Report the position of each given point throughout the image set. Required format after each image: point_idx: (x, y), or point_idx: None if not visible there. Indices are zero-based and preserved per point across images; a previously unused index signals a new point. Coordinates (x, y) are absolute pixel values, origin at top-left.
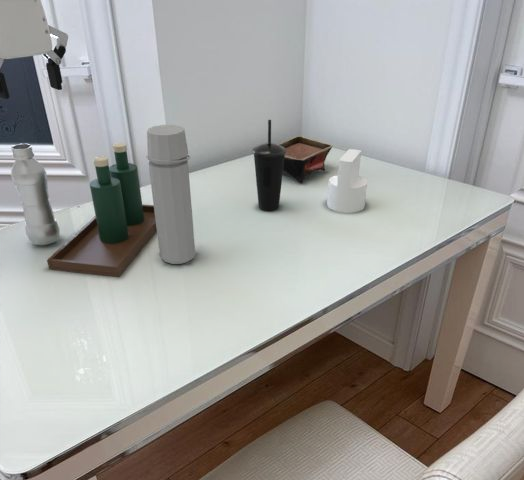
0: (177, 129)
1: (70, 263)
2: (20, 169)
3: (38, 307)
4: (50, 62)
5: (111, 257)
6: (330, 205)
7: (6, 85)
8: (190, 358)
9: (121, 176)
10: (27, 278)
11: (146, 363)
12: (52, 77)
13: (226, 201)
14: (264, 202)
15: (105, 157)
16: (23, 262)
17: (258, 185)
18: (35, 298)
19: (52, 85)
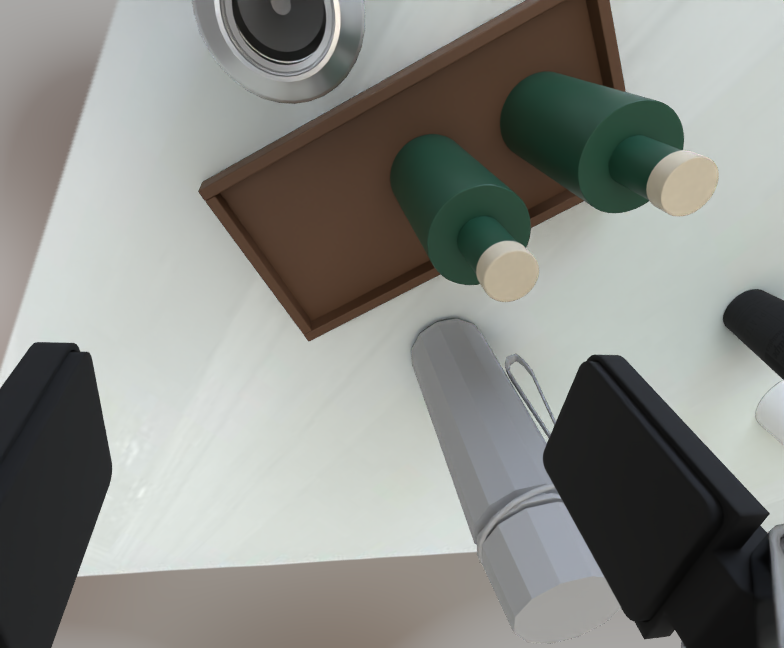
0: (589, 621)
1: (241, 249)
2: (225, 52)
3: (104, 315)
4: (697, 608)
5: (347, 261)
6: (773, 395)
7: (77, 571)
8: (241, 543)
9: (576, 193)
10: (132, 180)
11: (186, 525)
12: (601, 483)
13: (756, 213)
14: (737, 328)
15: (529, 282)
16: (159, 80)
17: (771, 336)
18: (112, 279)
19: (579, 402)
